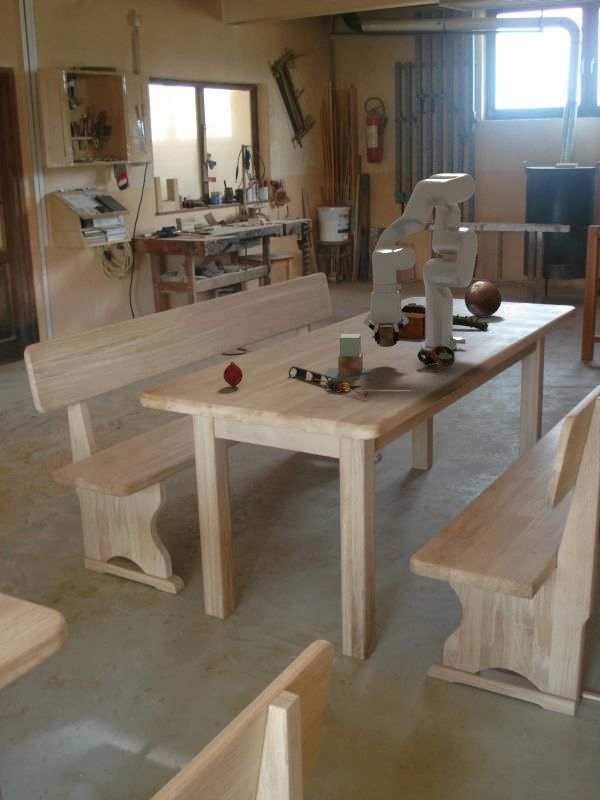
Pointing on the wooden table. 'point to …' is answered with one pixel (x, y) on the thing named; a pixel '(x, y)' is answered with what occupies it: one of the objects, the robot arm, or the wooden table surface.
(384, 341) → the dowel
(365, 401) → the wooden table surface
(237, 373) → the onion
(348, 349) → the tower mid
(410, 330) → the brick
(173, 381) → the wooden table surface
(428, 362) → the pottery mug
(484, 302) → the wooden sphere
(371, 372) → the mat
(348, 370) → the tower base
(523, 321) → the wooden table surface
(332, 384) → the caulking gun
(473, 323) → the wooden club
